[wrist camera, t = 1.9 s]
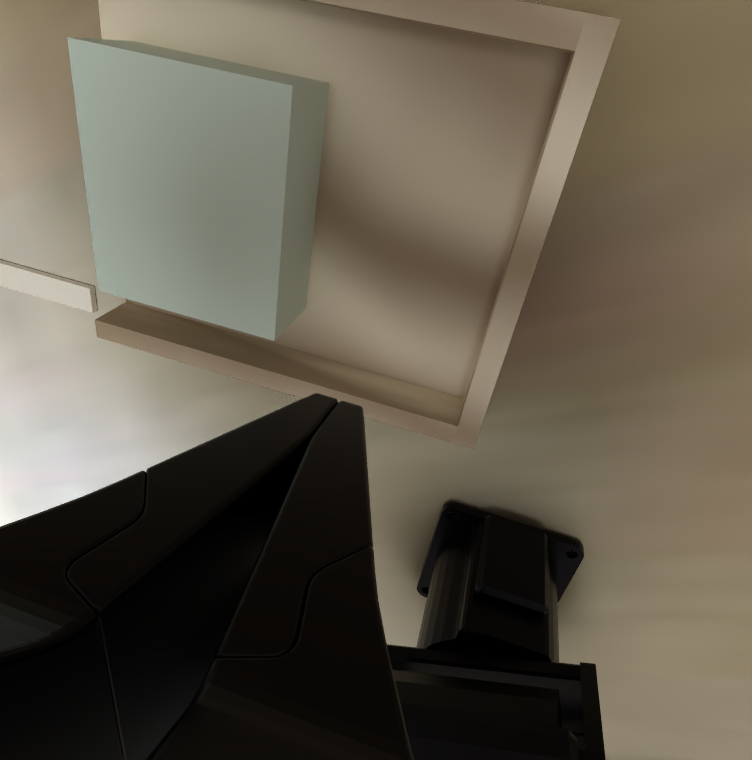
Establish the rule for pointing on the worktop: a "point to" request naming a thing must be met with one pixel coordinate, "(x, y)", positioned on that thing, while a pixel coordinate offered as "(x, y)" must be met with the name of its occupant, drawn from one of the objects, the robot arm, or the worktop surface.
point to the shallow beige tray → (397, 190)
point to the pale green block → (199, 181)
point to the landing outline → (48, 286)
